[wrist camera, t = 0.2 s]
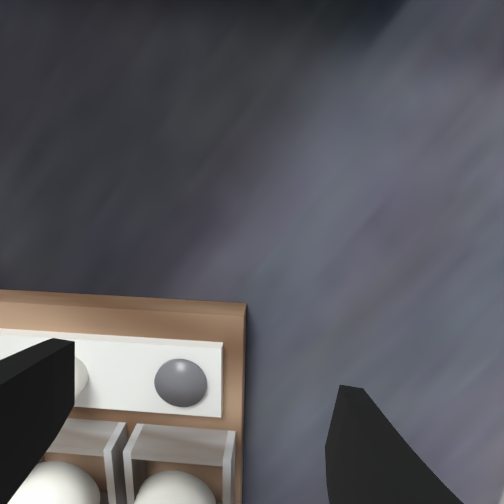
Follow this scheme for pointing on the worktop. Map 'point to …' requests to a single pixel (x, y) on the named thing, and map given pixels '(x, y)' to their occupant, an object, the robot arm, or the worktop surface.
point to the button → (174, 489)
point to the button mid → (57, 485)
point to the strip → (137, 371)
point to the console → (145, 423)
